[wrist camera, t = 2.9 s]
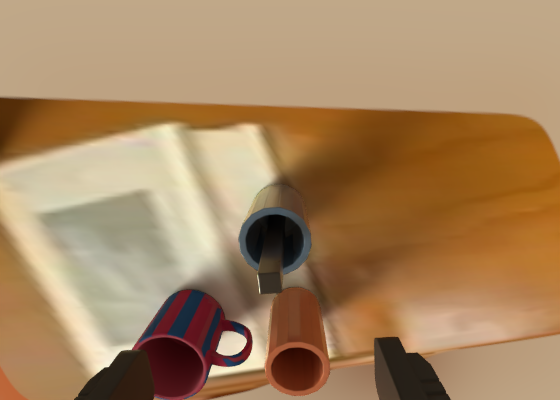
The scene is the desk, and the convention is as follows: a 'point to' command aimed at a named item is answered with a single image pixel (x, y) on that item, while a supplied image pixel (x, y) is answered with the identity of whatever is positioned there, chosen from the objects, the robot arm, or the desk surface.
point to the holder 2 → (296, 344)
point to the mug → (188, 343)
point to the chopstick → (272, 256)
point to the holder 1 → (296, 226)
